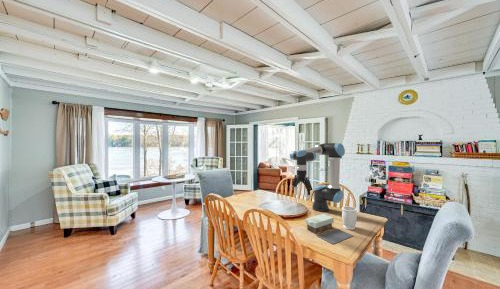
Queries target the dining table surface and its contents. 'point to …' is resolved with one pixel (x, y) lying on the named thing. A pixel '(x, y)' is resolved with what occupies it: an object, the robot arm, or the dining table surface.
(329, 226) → the box
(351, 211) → the jar
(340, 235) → the mat
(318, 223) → the lid
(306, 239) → the dining table surface
